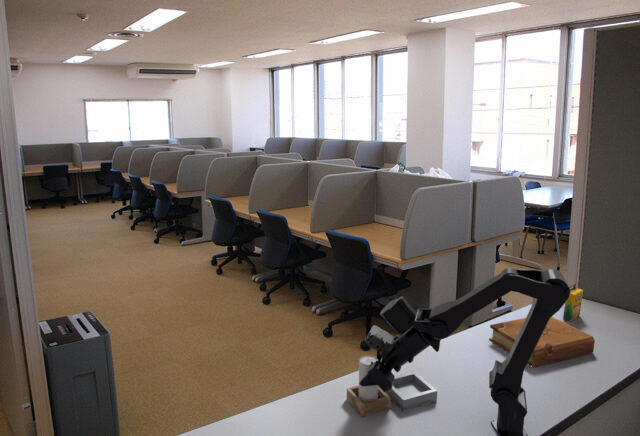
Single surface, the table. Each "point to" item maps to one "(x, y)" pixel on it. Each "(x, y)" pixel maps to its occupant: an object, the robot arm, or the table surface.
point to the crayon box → (573, 303)
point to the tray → (411, 391)
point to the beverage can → (364, 391)
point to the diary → (546, 341)
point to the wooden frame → (370, 406)
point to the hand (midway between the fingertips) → (363, 379)
